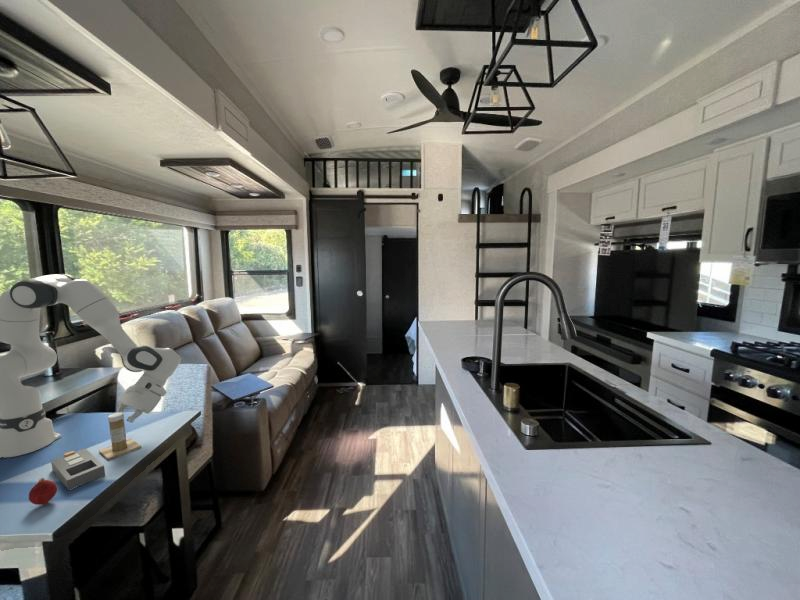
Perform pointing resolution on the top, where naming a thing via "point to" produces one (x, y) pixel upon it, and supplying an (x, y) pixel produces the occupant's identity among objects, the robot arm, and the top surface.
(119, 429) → the sprinkles bottle
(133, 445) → the wooden mat
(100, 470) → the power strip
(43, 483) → the onion
